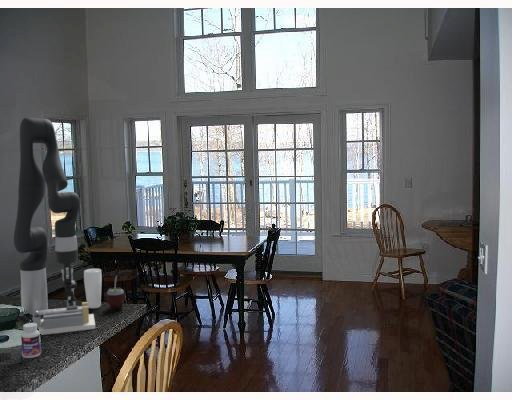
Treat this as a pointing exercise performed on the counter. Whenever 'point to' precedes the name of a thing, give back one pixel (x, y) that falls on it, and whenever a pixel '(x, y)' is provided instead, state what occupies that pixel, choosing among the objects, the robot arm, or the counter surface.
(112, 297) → the mate gourd
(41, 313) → the latch bar
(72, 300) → the push button
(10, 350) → the counter surface
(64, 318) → the base
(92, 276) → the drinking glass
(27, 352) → the pill bottle
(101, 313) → the counter surface
